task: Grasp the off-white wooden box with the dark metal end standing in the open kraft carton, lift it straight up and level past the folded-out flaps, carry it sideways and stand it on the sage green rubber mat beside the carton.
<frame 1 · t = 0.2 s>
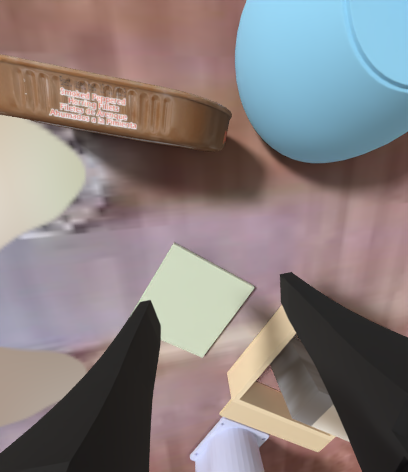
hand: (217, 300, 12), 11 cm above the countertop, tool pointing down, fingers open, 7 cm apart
mat: (189, 303, 24), on the countertop
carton: (304, 359, 27), on the countertop
tin: (135, 127, 19), on the countertop
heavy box: (319, 385, 24), in the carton
sugar bowl: (317, 71, 18), on the countertop
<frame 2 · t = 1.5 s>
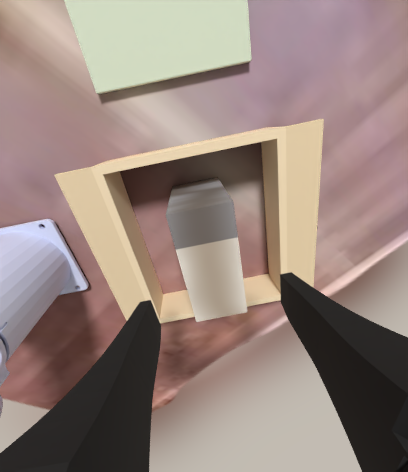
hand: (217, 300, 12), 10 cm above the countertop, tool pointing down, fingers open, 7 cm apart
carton: (204, 227, 21), on the countertop
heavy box: (207, 245, 18), in the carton
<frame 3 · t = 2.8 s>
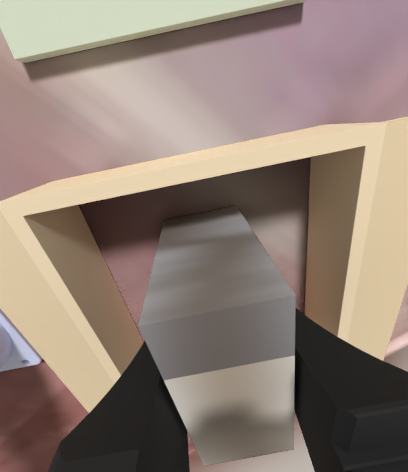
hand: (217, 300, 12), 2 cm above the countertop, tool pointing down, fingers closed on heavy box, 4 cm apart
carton: (213, 278, 14), on the countertop
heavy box: (221, 322, 10), in the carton, touching gripper
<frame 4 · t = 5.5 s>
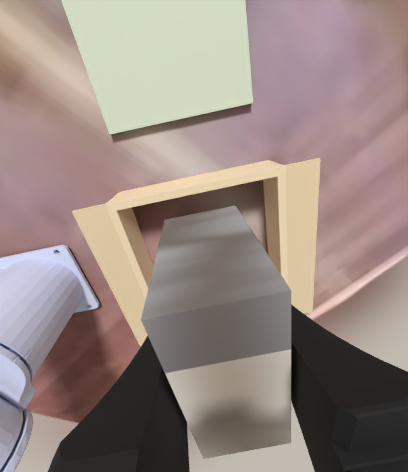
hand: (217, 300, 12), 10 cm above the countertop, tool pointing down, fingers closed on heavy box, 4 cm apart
mat: (162, 34, 14), on the countertop
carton: (209, 250, 22), on the countertop
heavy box: (221, 319, 11), point 11 cm above the countertop, touching gripper
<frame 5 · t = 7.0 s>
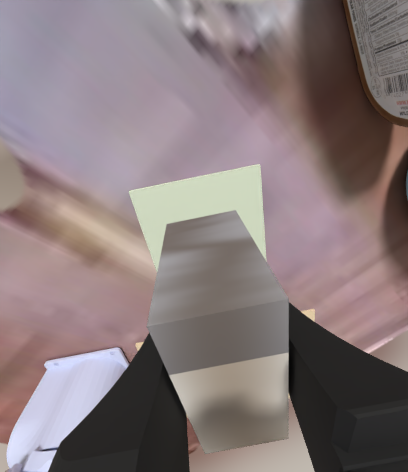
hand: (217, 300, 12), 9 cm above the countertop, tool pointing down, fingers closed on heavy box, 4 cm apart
mat: (204, 230, 20), on the countertop
tin: (358, 19, 14), on the countertop
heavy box: (221, 321, 11), point 10 cm above the countertop, touching gripper
when the fingers open (4 cm above the countertop, at t = 8.3 s): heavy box stays where it is, resting on mat.
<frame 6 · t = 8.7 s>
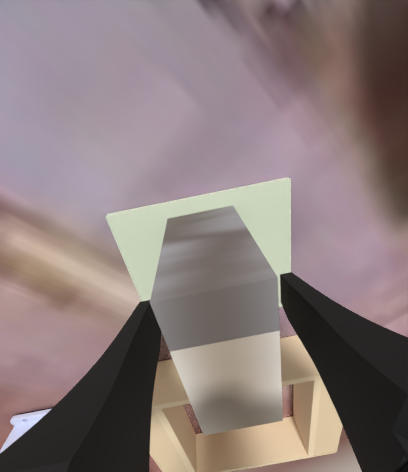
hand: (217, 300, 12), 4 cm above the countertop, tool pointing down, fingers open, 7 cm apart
mat: (211, 263, 15), on the countertop
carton: (237, 393, 23), on the countertop
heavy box: (219, 309, 12), on the mat
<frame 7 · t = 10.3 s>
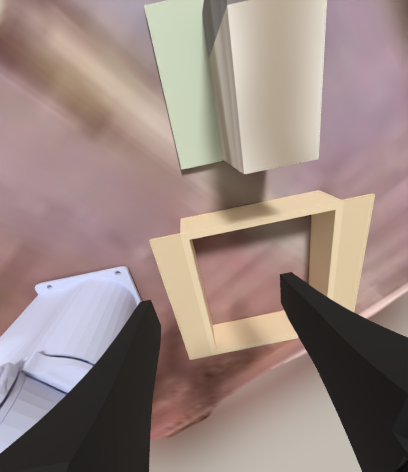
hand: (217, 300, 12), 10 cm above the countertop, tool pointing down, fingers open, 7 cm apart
mat: (238, 85, 16), on the countertop
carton: (255, 269, 23), on the countertop
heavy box: (254, 79, 12), on the mat
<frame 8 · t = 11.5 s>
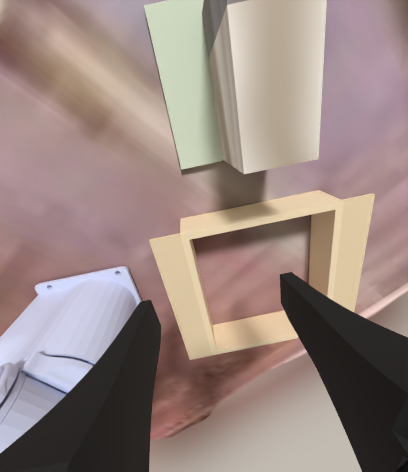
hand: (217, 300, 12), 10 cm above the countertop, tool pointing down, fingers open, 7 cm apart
mat: (238, 85, 16), on the countertop
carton: (255, 269, 23), on the countertop
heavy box: (254, 78, 12), on the mat
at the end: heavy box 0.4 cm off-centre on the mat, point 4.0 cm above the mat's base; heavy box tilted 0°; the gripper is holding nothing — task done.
